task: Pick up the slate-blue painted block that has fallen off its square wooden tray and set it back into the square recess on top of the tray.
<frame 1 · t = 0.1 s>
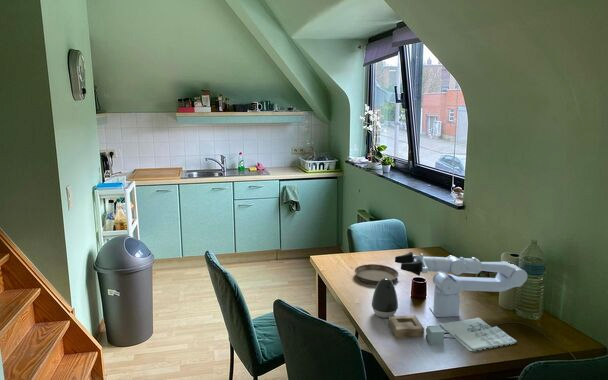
hand: (398, 262, 176), 22 cm above the table, tool horizontal, fingers open, 7 cm apart
paper napkin stack: (475, 335, 167), on the table
dark grey egg shape: (384, 315, 181), on the table
plant saucer: (376, 278, 217), on the table
square wooden tray: (405, 330, 168), on the table
blue block: (434, 341, 161), on the table
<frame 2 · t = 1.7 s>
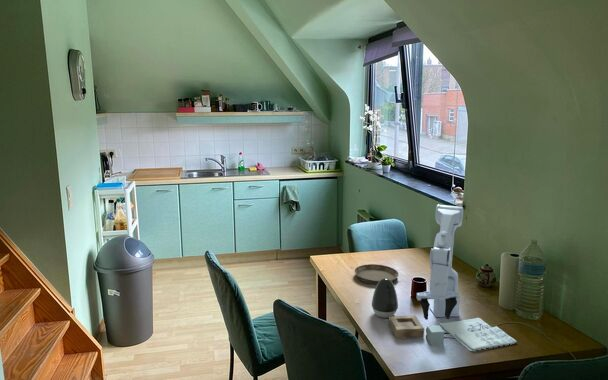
hand: (436, 317, 159), 9 cm above the table, tool pointing down, fingers open, 7 cm apart
nothing on the table moved.
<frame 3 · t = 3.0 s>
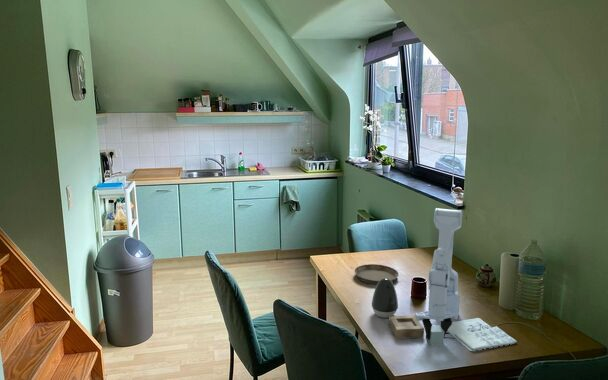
hand: (435, 337, 161), 1 cm above the table, tool pointing down, fingers closed on blue block, 4 cm apart
blue block: (434, 341, 161), on the table, touching gripper
everything else where it was.
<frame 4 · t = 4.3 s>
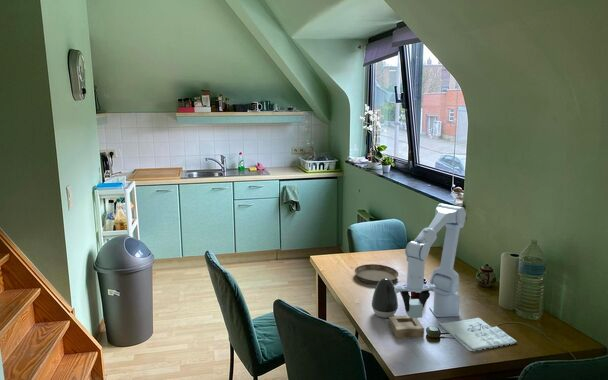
hand: (413, 310, 165), 9 cm above the table, tool pointing down, fingers closed on blue block, 4 cm apart
blue block: (413, 314, 165), point 7 cm above the table, touching gripper
everything else where it was.
when the fingers open (5 cm above the table, at t = 5.7 s): blue block stays where it is, resting on square wooden tray.
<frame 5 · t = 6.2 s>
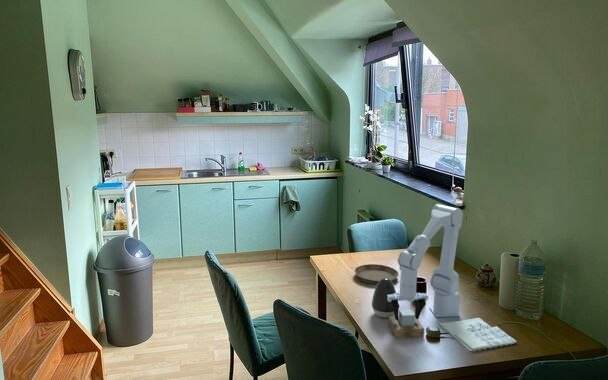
hand: (406, 318, 167), 5 cm above the table, tool pointing down, fingers open, 7 cm apart
blue block: (406, 325, 168), point 2 cm above the table, touching square wooden tray
everything else where it was.
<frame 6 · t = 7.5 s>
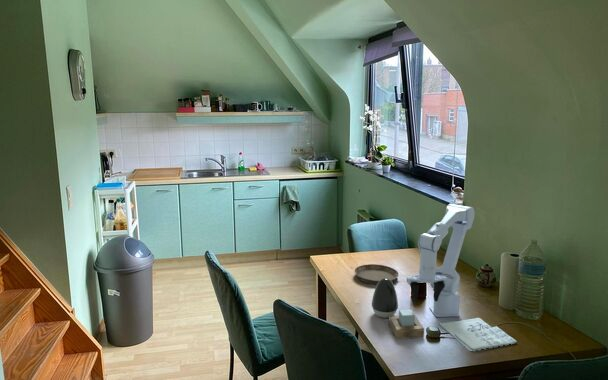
hand: (425, 300, 170), 10 cm above the table, tool pointing down, fingers open, 7 cm apart
nothing on the table moved.
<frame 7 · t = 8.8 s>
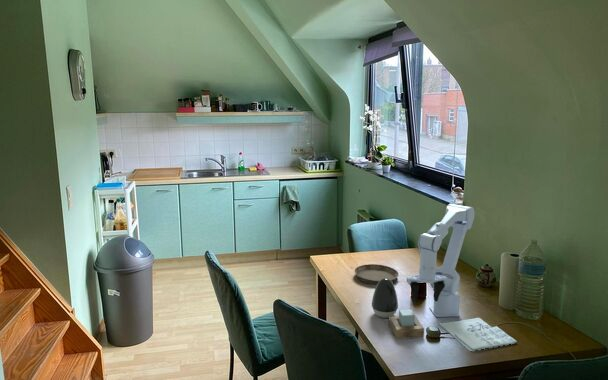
hand: (425, 300, 170), 10 cm above the table, tool pointing down, fingers open, 7 cm apart
nothing on the table moved.
at the end: blue block 0.2 cm off-centre on the square wooden tray, point 2.5 cm above the square wooden tray's base; blue block tilted 0°; the gripper is holding nothing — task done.
